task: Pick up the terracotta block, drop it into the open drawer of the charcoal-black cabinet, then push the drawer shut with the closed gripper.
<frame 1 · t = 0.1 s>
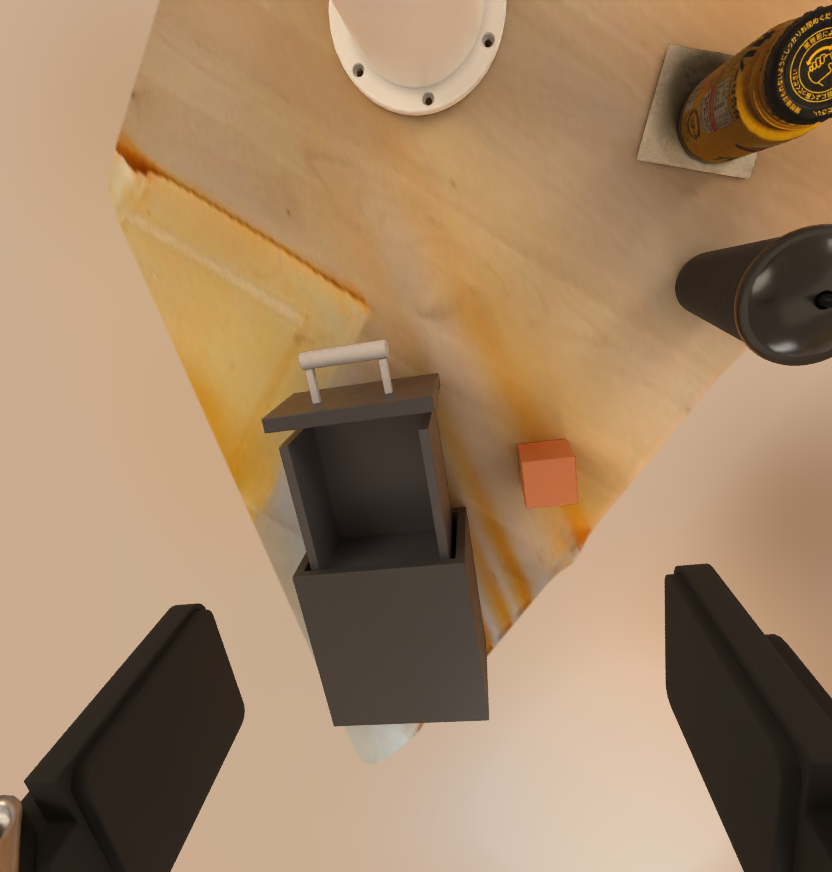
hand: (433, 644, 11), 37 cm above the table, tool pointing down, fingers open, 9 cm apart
drawer: (368, 457, 44), point 5 cm above the table, slide at 12.5 cm
drinking cup: (705, 283, 42), on the table
condiment: (707, 115, 38), on the table
block: (543, 463, 48), on the table
cabinet: (406, 584, 54), on the table
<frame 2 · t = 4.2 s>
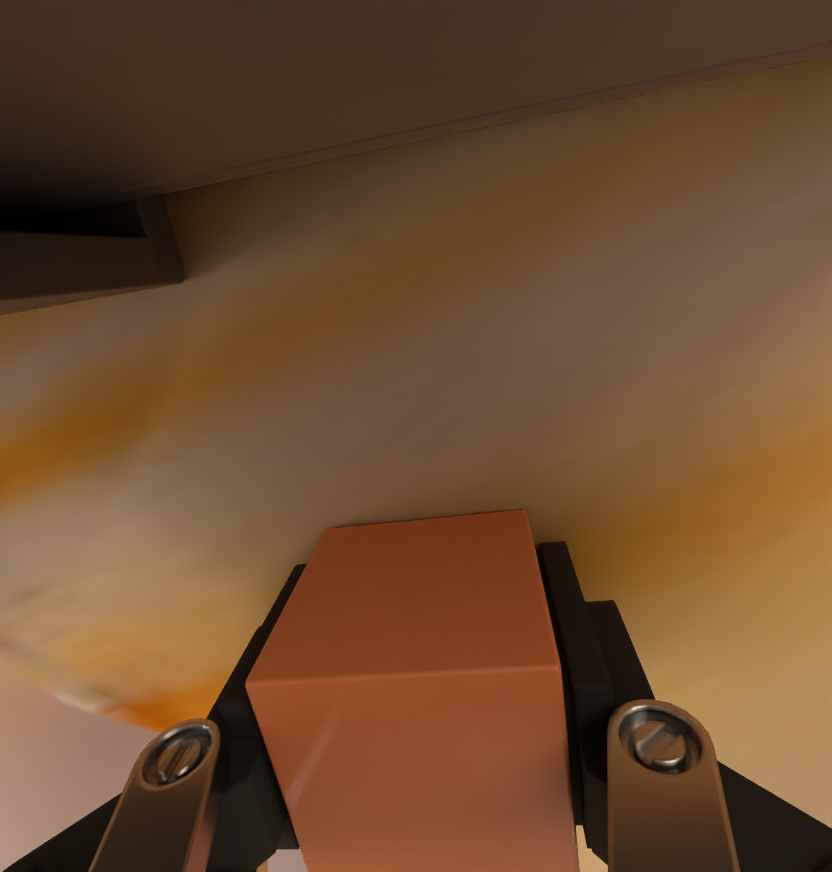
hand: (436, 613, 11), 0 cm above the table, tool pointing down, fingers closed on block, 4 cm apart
block: (437, 603, 12), on the table, touching gripper
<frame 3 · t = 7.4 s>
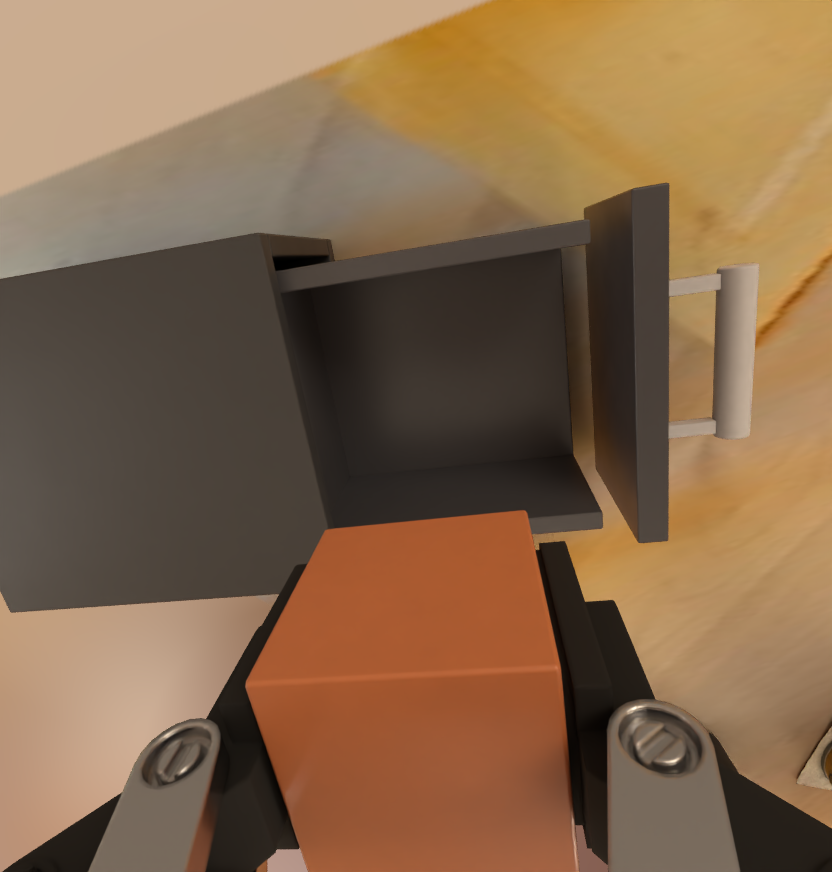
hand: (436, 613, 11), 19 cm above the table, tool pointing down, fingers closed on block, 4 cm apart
drawer: (506, 377, 23), point 5 cm above the table, slide at 12.5 cm
drinking cup: (683, 749, 36), on the table
block: (437, 603, 12), point 18 cm above the table, touching gripper
cabinet: (220, 394, 30), on the table
when the fingers open (4 cm above the table, at t = 10.8 s): block drops 2 cm, resting on drawer.
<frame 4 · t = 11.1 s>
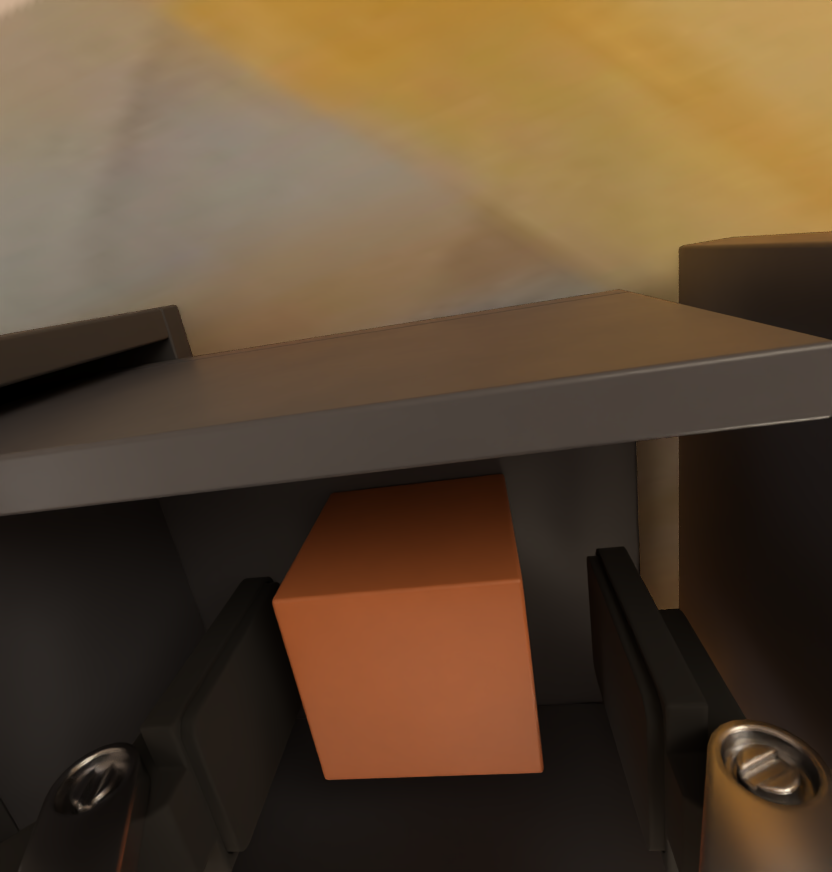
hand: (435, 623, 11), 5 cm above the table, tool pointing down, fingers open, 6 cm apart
drawer: (524, 623, 11), point 5 cm above the table, slide at 12.5 cm, touching block
block: (428, 557, 14), point 2 cm above the table, touching drawer
cabinet: (18, 563, 17), on the table
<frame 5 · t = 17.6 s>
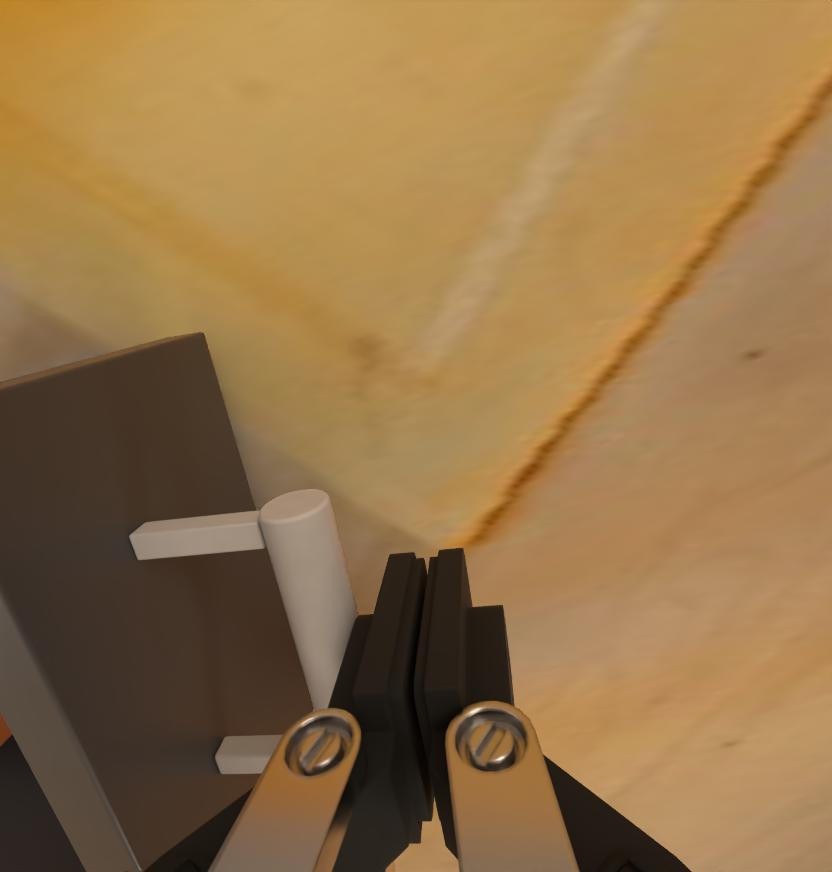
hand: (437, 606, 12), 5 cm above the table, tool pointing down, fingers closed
drawer: (7, 641, 13), point 5 cm above the table, slide at 13.0 cm, touching block, gripper
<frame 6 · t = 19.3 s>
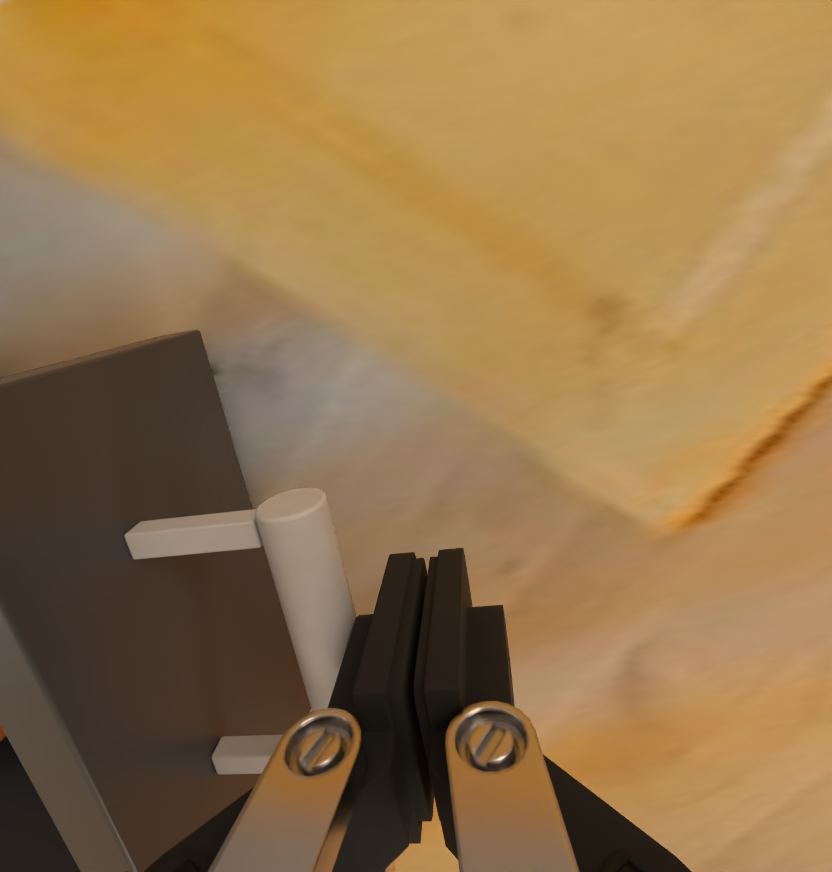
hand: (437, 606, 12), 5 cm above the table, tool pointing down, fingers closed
drawer: (2, 641, 13), point 5 cm above the table, slide at 6.3 cm, touching block, gripper
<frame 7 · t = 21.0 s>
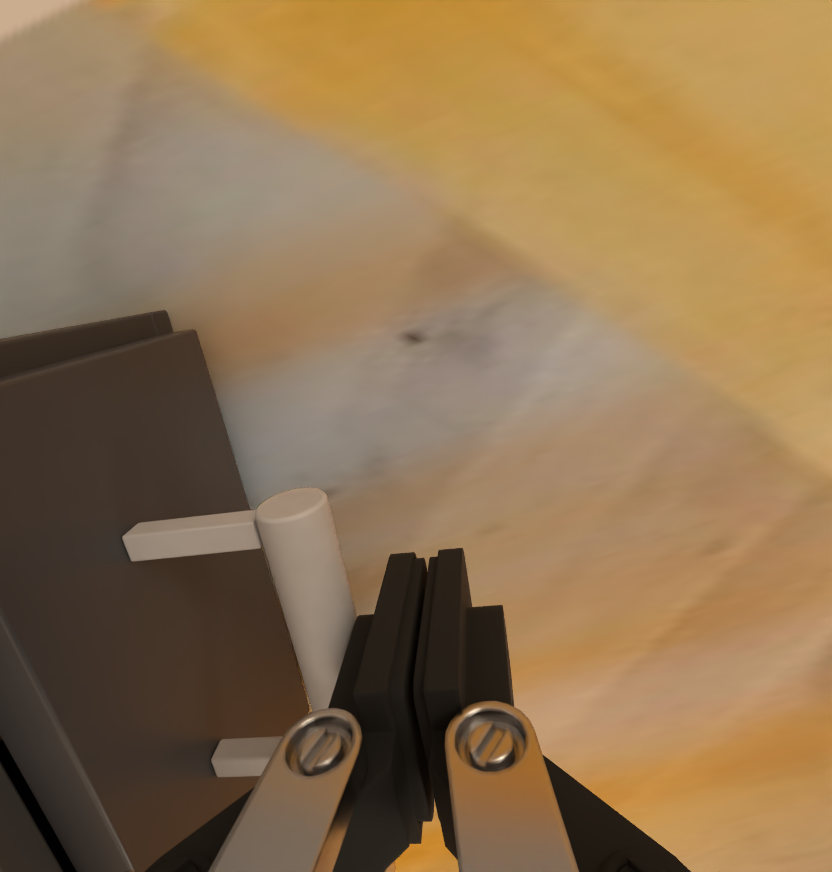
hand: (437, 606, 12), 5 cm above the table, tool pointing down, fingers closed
cabinet: (18, 555, 18), on the table
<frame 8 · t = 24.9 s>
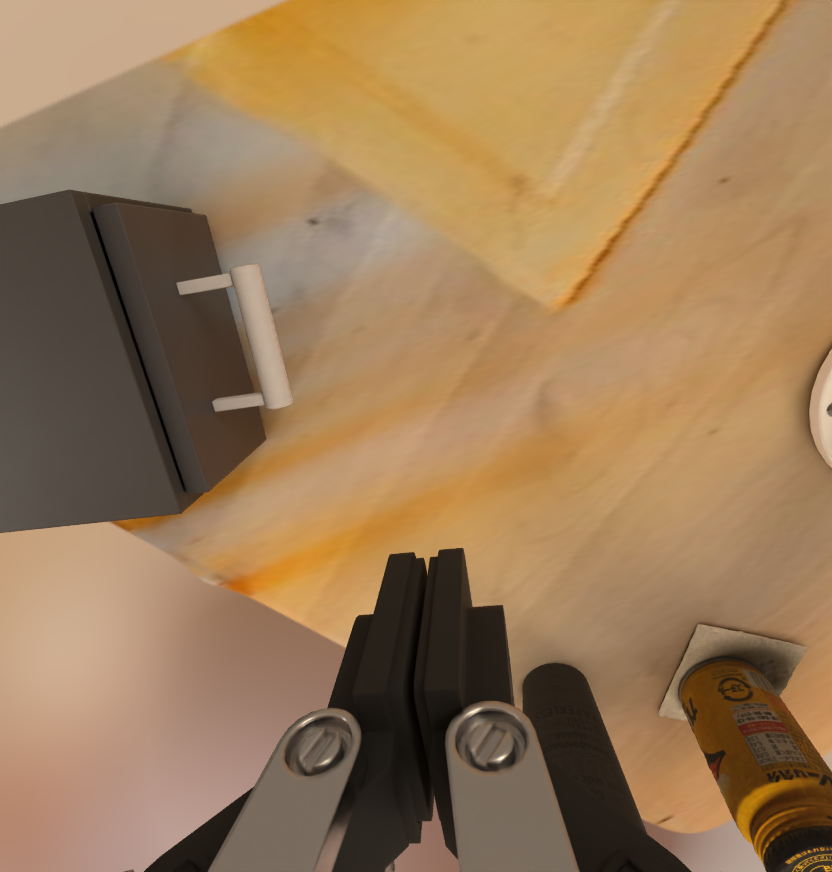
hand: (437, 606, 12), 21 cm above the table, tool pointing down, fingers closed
drawer: (111, 360, 28), point 5 cm above the table, slide at 0.0 cm, touching block, cabinet
drinking cup: (554, 686, 39), on the table
condiment: (726, 677, 37), on the table
cabinet: (106, 354, 33), on the table
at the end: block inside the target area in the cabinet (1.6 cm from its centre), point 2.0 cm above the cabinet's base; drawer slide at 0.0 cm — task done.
